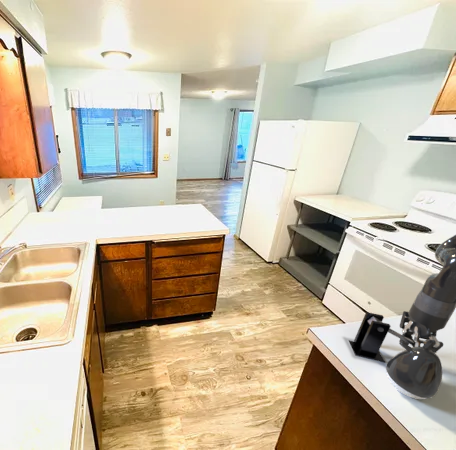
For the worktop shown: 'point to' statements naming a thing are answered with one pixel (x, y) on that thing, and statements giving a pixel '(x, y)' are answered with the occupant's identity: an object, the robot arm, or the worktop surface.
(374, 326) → the bracket
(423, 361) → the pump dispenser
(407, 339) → the lever
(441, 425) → the worktop surface
